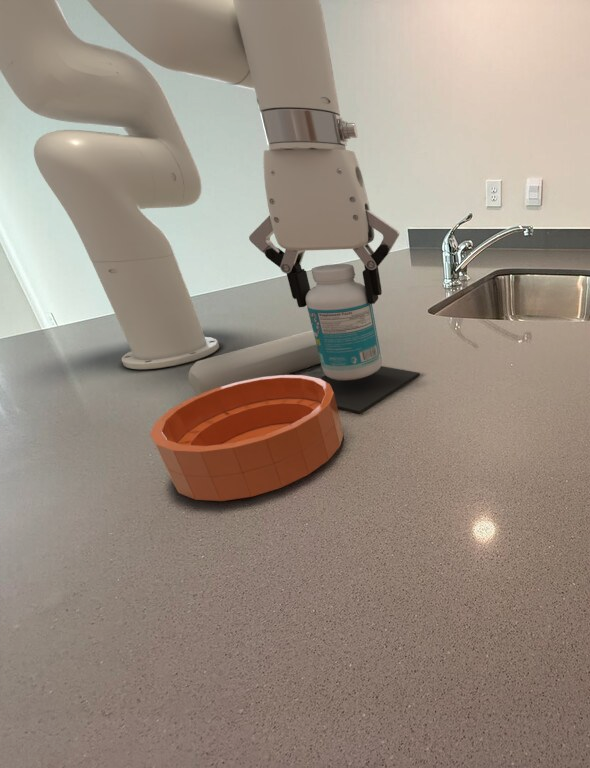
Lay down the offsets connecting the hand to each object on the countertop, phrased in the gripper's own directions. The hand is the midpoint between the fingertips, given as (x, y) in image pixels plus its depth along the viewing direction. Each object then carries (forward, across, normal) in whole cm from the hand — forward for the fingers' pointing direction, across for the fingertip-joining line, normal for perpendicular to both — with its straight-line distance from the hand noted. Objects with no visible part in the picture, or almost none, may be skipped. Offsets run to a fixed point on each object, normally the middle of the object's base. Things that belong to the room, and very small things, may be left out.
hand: (339, 301), depth 50 cm
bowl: (+11, +5, +15) cm, 20 cm away
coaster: (+11, 0, 0) cm, 11 cm away
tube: (+12, +11, -7) cm, 17 cm away
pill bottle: (+9, 0, 0) cm, 9 cm away
